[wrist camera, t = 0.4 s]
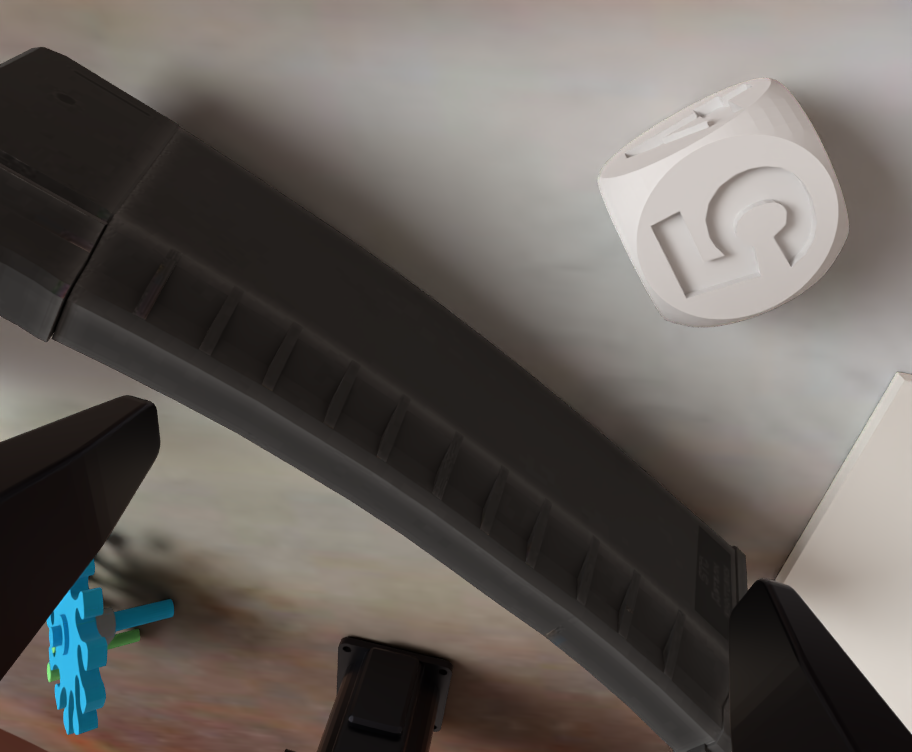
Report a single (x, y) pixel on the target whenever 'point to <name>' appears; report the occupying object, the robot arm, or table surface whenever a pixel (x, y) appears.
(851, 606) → the cream rectangular board
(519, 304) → the table surface
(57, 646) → the gear
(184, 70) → the table surface
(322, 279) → the magazine
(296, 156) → the table surface
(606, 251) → the table surface
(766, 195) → the die
